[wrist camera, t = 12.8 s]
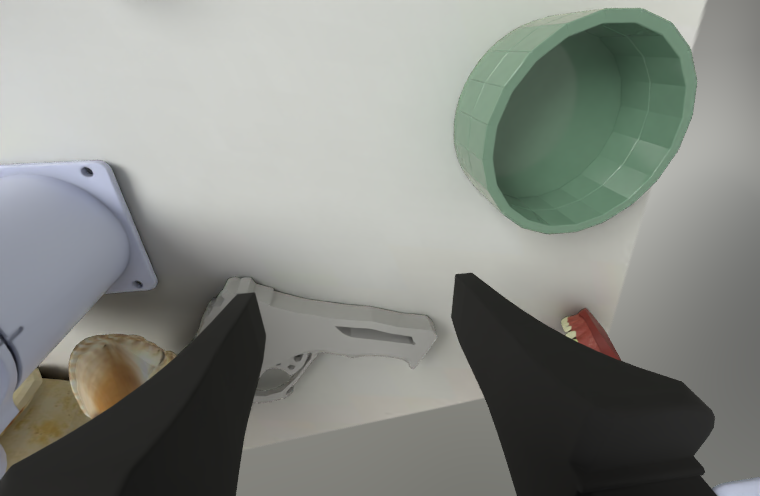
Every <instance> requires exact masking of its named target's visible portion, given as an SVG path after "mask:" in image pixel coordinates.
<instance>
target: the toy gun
mask: <svg viewBox="0 0 760 496" xmlns="http://www.w3.org/2000/svg"><path fill="white" fill-rule="evenodd" d="M273 290H274V288H271V287H267V286H263V285H259V284H256V283H255V282H254V281H253V279H252V278H251V277H243V278H241V279H240V278H238V277H232V278H229V279H228V280H227V282H226V284H225V286H224V289H223V290H221V291H220V293H219V295H218V297H217V298H215V297H214V298H213V299H212V300H211V301H210V302H209V304H208V306H207V309H206V311H205V313H204V315H203V317H202V320H201V323H200V326H199V327H200V328H199V330H198V333H197V334H196V336H195V338H196V337H197V336H198V335H199V334H200V333H201V332H202V331H203V330H204V329H205V328H206V327H207V326H208V325H209V324H210V323H211V322H212V321H213V320H214V318H215V317H216V316H217V315H218V314H219V313H220V312H221V311H222V310H223V309H224V308H225V306H226V305H227V304H228V303H229V302H230V301H231V300H232V299H233V298H234V297H235V296H236V295H237V294H241V293H252V292H255V294H256V297H257V301H258V305H259V309H260V313H261V317H262V321H263V325H264V329H265V332H266V343H265V351H264V359H263V364H262V368H261V372H260V376H259V378H260V377H261V375H262V374H263V373H264V372H265V371H266V370H268V369H273V368H277V369H280V370H284V371H285V372H286V373H287V374H289V375H290V376H291V375H293V374H294V375H293V376H292V377H291V379H290V380H289V381H288V382H286V383H285V384H283V385H281V386H280V387H278V388H274V389H270V390H266V391H265V390H256V392H255V395H254V399H253V403H256V402H257V403H265V402H272V401H276V400H280V399H282V398H286V397H287V396H288V395H290V394H291V393H292V392H293V387H292V386H293V384H294V383H295V382H296V381H297V380H298V379H299V378H300V377H301V375H302V374H303V373H304V371H305V370H306V369H307V368H308V366H309V365H310V364H311V362H312V361H313V360H314V359H315V357H316V356H317V355H318V354H319V353H323V352H326V353H330V354H336V355H343V356H347V357H351V358H354V357H361V356H386V357H393V358H398V359H402V360H405V361H407V362H408V363H409V366H410V368H411V369H414V368H415V367H416V366H417V365H418V364H419V363H420V362H421V360H422V359H423V358H424V356H425V355H426V354H427V352H428V351H429V350H430V348H431V347H432V345H433V343H434V342H435V340H436V339H437V337H438V336H437V333H436V330H435V328H434V325H433V322H432V321H431V320H430V318H429V317H428V316H427V315H416V314H405V313H399V312H394V311H390V310H385V309H380V308H376V307H371V306H356V305H346V304H339V303H332V302H325V301H318V300H310V299H304V298H300V297H296V296H292V295H288V294H284V293H280V292H276V291H273ZM195 338H194V339H195ZM194 339H193V340H194ZM308 353H311V354H310V355H309V357H308ZM300 354H302V355H301V356H297V355H300ZM307 357H308V358H307Z"/></svg>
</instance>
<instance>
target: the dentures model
mask: <svg viewBox="0 0 760 496" xmlns="http://www.w3.org/2000/svg"><path fill="white" fill-rule="evenodd" d="M561 324H562V327H563V329H564V331H565V332H566V333H567V332H568V333H567V334H566V336H567V337H569V338H571V339H573V340H575V341H577V342H579V343H581V344H583V345H585V346H587V347H590V348H592V349H594V350H596V351H598V352H601V353H603V354H605V355H608V356H610V357H613V358H615V359H618V360H620V361H621V359H620V357H619V355H618V353H617V352H616V350H615V348H614V346H613V344H612V343H611V341H610V339H609V337H608V335H607V334H606V332H605V330H604V329H603V328H602V326H601V325H600V324H599V323H598V321H597V320H596V319H595V318H594V316H593V315H592V314H591V313H590V312H589V311H588V310H587V309H586V308H585V309H583V310H581V311H580V312H579V313H578V314H577V315H572V316H568V317H565V318H564V319H563V320H561Z"/></svg>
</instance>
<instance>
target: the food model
mask: <svg viewBox="0 0 760 496" xmlns="http://www.w3.org/2000/svg"><path fill="white" fill-rule="evenodd" d="M13 402H14V404H15V406H16V407H17V408H18V410H19V413H18V414H17V415H16V416H15V418H14V419H13V420H12V421H11V422H10V424H9V425H8V426H7V427H6V428H5V429H4V431H3V432H2V433H1V434H0V444H1V445H2V447H3V448H4V450H5V452H6V457H7V468H6V472H7V471H8V469H9V468H10V467H11V466H12V465H13V464H15V463H17V462H19V461H21V460H23V459H24V458H26V457H28V456H30V455H32V454H33V453H35V452H37V451H39V450H41V449H42V448H44V447H46V446H48V445H50V444H51V443H53V442H55V441H57V440H58V439H60V438H62V437H64V436H65V435H67V434H69V433H70V432H72V431H74V430H75V429H77V428H79V427H80V426H82V425H83V424H85V423H87V422H88V421H90V420H92V419H91V418H90V417H88V416H86V415H85V414H84V413H83V411H82V410H81V408H80V406H79V404H78V402H77V400H76V398H75V396H74V394H73V391H72V388H71V384H70V381H66V380H60V379H46V378H42V377H41V375H40V372H39V369H35V370H34V371H33V372H32V373H31V374H30V375H29V376H28V378H27V379H26V380H25V381H24V382H23V383H22V384H21V385H20V386H19V387H18V388H17V390H16V391H15V392H14V393H13Z"/></svg>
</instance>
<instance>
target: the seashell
mask: <svg viewBox="0 0 760 496" xmlns="http://www.w3.org/2000/svg"><path fill="white" fill-rule="evenodd" d="M175 357H176V354H174V353H173V352H171V351H165V350H163V349H162V348H160V347H158V346H157V345H156V344H154V343H152V342H149V341H146V340H145V339H144V337H141V336H138V335H124V334H109V335H107V334H106V335H96V336H91V337H89V338H86V339H84V340H82V341H81V342H80V343H78V344H77V345H76V347H75V348H74V350H73V351H72V353H71V355H70V360H69V379H70V384H71V388H72V391H73V394H74V396H75V398H76V400H77V402H78V404H79V406H80V408H81V410H82V411H83V413H84V414H85V415H86V416H88V417H90V418H91V419H93V418H95V417H96V416H98V415H99V414H101V413H102V412H104V411H105V410H107V409H108V408H110V407H111V406H113V405H114V404H116V403H117V402H119V401H120V400H121V399H123V398H124V397H125V396H127V395H128V394H130V393H131V392H132V391H134V390H135V389H137V388H138V387H139V386H141V385H142V384H143V383H145V382H146V381H147V380H149V379H150V378H151V377H152V376H154V375H155V374H156V373H157V372H159V371H160V370H161V369H162V368H163V367H165V366H166V365H167V364H168V363H169V362H170V361H172V360H173V359H174V358H175Z"/></svg>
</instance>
